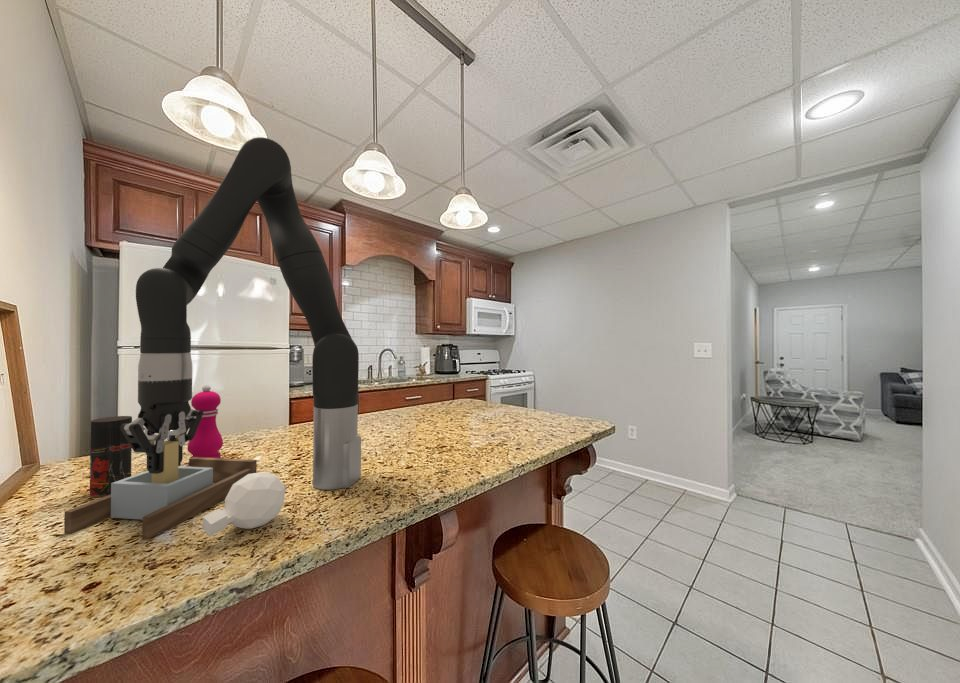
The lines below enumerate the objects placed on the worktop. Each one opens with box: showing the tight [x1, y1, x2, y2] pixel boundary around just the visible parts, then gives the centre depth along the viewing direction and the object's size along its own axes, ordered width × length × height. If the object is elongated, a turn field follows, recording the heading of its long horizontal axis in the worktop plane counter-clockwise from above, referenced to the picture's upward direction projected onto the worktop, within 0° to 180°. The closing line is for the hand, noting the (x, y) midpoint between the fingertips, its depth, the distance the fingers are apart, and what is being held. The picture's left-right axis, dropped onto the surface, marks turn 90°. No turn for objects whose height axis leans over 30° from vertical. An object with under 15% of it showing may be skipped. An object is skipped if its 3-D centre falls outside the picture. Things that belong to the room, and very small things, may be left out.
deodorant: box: [89, 415, 133, 498], centre depth 72 cm, size 6×6×15 cm
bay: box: [63, 457, 258, 540], centre depth 66 cm, size 15×23×5 cm
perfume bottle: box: [201, 471, 286, 537], centre depth 58 cm, size 9×9×12 cm
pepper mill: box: [187, 385, 224, 459], centre depth 90 cm, size 7×7×20 cm
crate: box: [110, 440, 214, 521], centre depth 64 cm, size 11×9×12 cm
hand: (165, 469), depth 64 cm, fingers closed on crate, 2 cm apart
